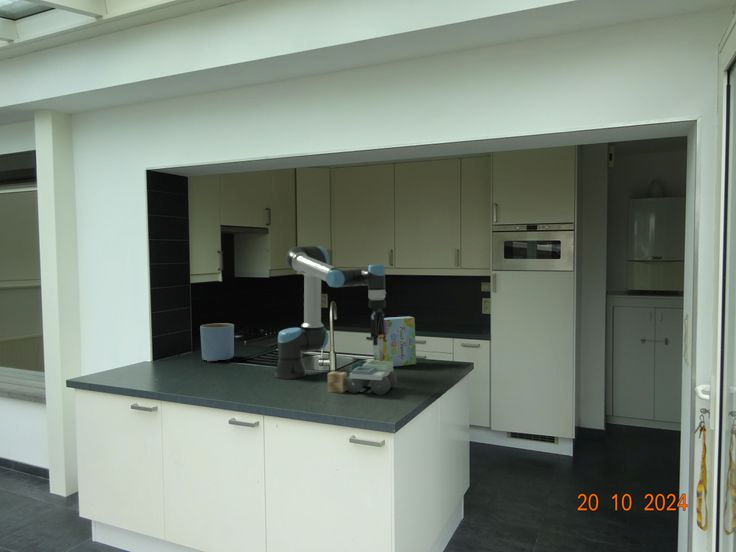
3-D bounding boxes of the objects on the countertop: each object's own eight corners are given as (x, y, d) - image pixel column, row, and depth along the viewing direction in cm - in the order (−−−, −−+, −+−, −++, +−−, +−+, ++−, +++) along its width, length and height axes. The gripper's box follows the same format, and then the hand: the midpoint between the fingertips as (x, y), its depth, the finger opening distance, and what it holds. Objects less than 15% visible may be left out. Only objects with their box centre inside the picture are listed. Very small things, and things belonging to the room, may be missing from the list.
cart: (342, 393, 236) (342, 369, 236) (357, 384, 253) (357, 361, 253) (386, 397, 230) (386, 372, 229) (398, 386, 247) (398, 363, 246)
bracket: (371, 377, 267) (370, 361, 266) (364, 380, 261) (363, 364, 260) (339, 374, 275) (339, 358, 275) (332, 377, 270) (332, 361, 269)
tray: (362, 370, 241) (362, 364, 241) (370, 365, 251) (370, 360, 251) (386, 371, 238) (386, 365, 238) (393, 366, 247) (393, 361, 247)
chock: (327, 391, 240) (327, 373, 240) (332, 389, 245) (331, 371, 245) (342, 392, 238) (342, 374, 238) (346, 390, 243) (346, 372, 243)
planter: (204, 356, 328) (203, 323, 327) (236, 355, 330) (235, 322, 329) (198, 363, 309) (197, 328, 308) (232, 361, 311) (231, 327, 310)
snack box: (409, 362, 302) (409, 315, 301) (416, 364, 294) (416, 317, 293) (373, 365, 294) (372, 318, 293) (379, 368, 286) (378, 319, 285)
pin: (372, 359, 242) (372, 335, 242) (374, 357, 247) (374, 333, 246) (382, 360, 241) (382, 335, 241) (384, 358, 246) (384, 334, 245)
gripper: (378, 301, 233) (379, 355, 234) (391, 297, 250) (391, 348, 251) (362, 300, 236) (363, 354, 237) (375, 297, 252) (376, 347, 253)
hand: (378, 351), depth 244 cm, fingers closed on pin, 4 cm apart
